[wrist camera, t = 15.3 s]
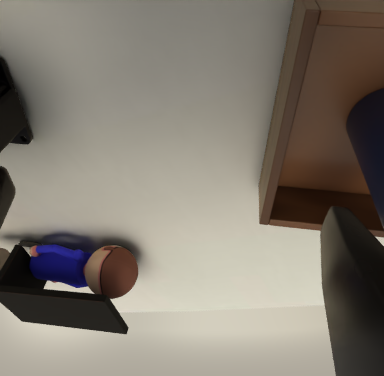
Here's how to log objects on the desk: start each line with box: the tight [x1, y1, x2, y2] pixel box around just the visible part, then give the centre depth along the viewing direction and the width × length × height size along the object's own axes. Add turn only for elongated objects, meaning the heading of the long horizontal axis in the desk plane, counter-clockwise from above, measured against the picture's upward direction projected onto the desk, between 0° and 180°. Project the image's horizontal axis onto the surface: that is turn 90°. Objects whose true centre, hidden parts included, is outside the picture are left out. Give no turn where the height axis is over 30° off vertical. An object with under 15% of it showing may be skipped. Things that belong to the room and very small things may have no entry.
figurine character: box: [0, 241, 138, 334], centre depth 32 cm, size 7×8×15 cm
